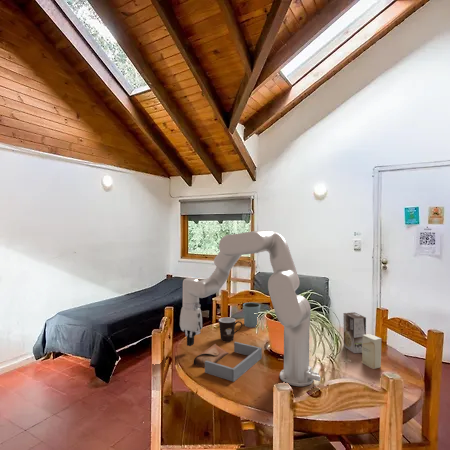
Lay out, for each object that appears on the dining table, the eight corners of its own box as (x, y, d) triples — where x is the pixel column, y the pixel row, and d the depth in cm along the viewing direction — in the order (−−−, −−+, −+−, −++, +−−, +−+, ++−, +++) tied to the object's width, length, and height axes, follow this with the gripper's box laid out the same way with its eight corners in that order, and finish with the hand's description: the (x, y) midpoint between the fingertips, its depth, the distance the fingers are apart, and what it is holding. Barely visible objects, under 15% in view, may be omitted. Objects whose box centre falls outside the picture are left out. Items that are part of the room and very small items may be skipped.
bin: (261, 358, 136) (261, 347, 136) (233, 381, 116) (233, 369, 116) (235, 351, 143) (235, 341, 143) (204, 372, 123) (204, 361, 123)
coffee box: (366, 352, 141) (366, 317, 141) (353, 353, 140) (353, 318, 140) (355, 344, 150) (355, 311, 150) (343, 345, 149) (343, 312, 149)
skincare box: (361, 363, 131) (361, 334, 131) (369, 361, 133) (369, 333, 133) (374, 369, 125) (374, 339, 125) (381, 367, 127) (381, 338, 127)
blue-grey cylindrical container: (253, 321, 187) (253, 301, 187) (264, 326, 179) (263, 305, 178) (239, 324, 182) (239, 303, 182) (249, 329, 173) (249, 307, 173)
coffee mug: (217, 341, 155) (216, 322, 155) (220, 335, 163) (220, 316, 163) (239, 343, 152) (239, 323, 152) (242, 337, 161) (242, 318, 160)
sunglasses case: (210, 369, 126) (203, 353, 127) (198, 374, 129) (191, 359, 130) (229, 352, 142) (223, 338, 143) (218, 357, 145) (211, 344, 146)
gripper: (208, 306, 141) (208, 345, 141) (183, 301, 149) (183, 338, 149) (198, 309, 135) (198, 351, 135) (172, 304, 143) (172, 344, 143)
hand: (190, 344), depth 142 cm, fingers closed
